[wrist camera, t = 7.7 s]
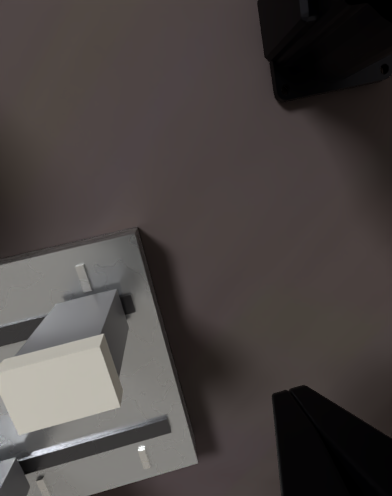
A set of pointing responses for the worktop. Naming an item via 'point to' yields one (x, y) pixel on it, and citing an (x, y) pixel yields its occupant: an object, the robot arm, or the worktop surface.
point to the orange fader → (12, 479)
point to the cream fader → (67, 364)
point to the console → (131, 377)
